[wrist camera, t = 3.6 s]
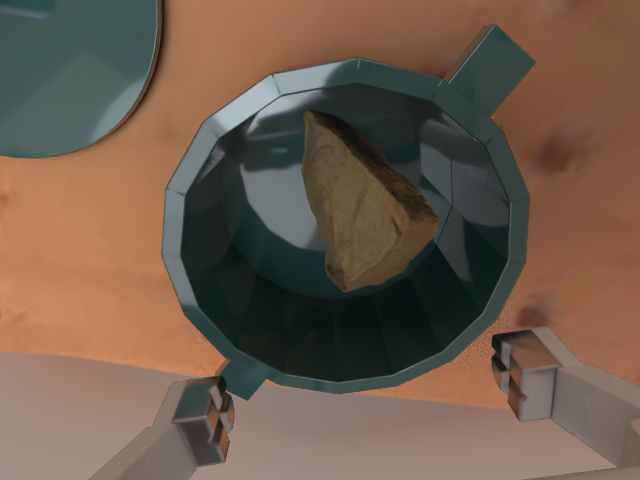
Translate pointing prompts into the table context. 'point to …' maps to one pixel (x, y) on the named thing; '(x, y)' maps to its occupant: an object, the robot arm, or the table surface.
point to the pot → (304, 239)
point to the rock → (361, 205)
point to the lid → (72, 71)
